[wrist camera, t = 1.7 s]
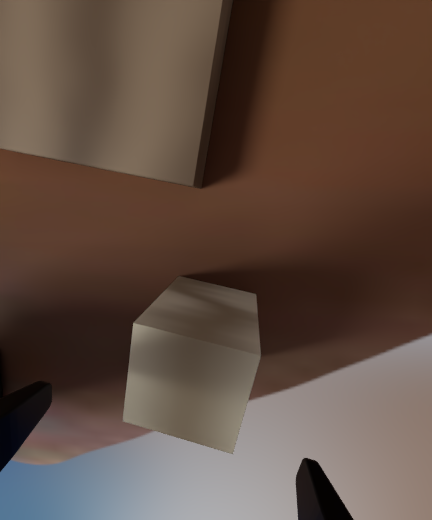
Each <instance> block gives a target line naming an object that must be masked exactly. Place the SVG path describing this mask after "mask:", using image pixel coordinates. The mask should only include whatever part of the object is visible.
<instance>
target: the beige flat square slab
mask: <svg viewBox="0 0 432 520" xmlns="http://www.w3.org/2000/svg"><path fill="white" fill-rule="evenodd" d="M232 4H233V0H0V149H5V150H9V151H14V152H19V153H24V154H29V155H34V156H39V157H44V158H49V159H54V160H59V161H64V162H69V163H74V164H79V165H84V166H89V167H94V168H99V169H104V170H109V171H114V172H119V173H124V174H129V175H134V176H139V177H144V178H149V179H154V180H160V181H165V182H170V183H175V184H180V185H185V186H190V187H195V188H200V189H201V187H202V181H203V176H204V170H205V164H206V158H207V152H208V146H209V140H210V134H211V128H212V122H213V116H214V110H215V105H216V99H217V93H218V87H219V81H220V75H221V69H222V63H223V57H224V51H225V45H226V39H227V33H228V28H229V22H230V16H231V10H232Z"/></svg>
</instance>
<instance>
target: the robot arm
mask: <svg viewBox="0 0 432 520" xmlns="http://www.w3.org/2000/svg"><path fill="white" fill-rule="evenodd" d="M51 402H52V385H51V384H50V383H47V382H44V381H38V382H35V383H33V384H31V385H29V386H26V387H24V388H22V389H20V390H18V391H15V392H13V393H11V394H9V395H6V396H4V397H2V391H1V376H0V472H1V470H2V469H3V468H4V467H5V466H6V464H7V463H8V462H9V461H10V460H11V458H12V457H13V456H14V455H15V453H16V452H17V451H18V449H19V448H20V447H21V445H22V444H23V443H24V441H25V440H26V439H27V437H28V436H29V435H30V433H31V432H32V430H33V429H34V428H35V426H36V425H37V424H38V422H39V421H40V420H41V418H42V417H43V416H44V414H45V413H46V411H47V410H48V409H49V407H50V405H51ZM296 492H297V508H298V520H353V518H352V516H351V515H350V513H349V512H348V510H347V508H346V507H345V505H344V503H343V502H342V500H341V499H340V497H339V495H338V494H337V492H336V491H335V489H334V487H333V486H332V484H331V483H330V481H329V479H328V478H327V476H326V475H325V473H324V471H323V470H322V468H321V467H320V465H319V463H318V462H317V461H315V460H311V459H308V458H304V459H303V460H302V463H301V465H300V467H299V470H298V472H297V475H296Z"/></svg>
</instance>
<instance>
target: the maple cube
mask: <svg viewBox="0 0 432 520" xmlns="http://www.w3.org/2000/svg"><path fill="white" fill-rule="evenodd" d="M260 358H261V349H260V336H259V323H258V310H257V298H256V294H253V293H249V292H245V291H241V290H236V289H232V288H228V287H224V286H219V285H215V284H211V283H207V282H202V281H198V280H194V279H190V278H185V277H181V276H178V277H177V278H176V279H175V280H174V281H173V283H172V284H171V285H170V286H169V287H168V288H167V289H166V290H165V291H164V292H163V293H162V294H161V295H160V296H159V297H158V298H157V299H156V300H155V301H154V302H153V303H152V304H151V305H150V306H149V307H148V308H147V309H146V310H145V311H144V312H143V313H142V314H141V315H140V316H139V318H138V319H137V320H136V321H135V322H134V323H133V331H132V340H131V349H130V358H129V368H128V377H127V386H126V395H125V404H124V413H123V421H124V422H127V423H131V424H134V425H137V426H141V427H144V428H147V429H151V430H154V431H158V432H161V433H164V434H167V435H171V436H174V437H177V438H181V439H184V440H187V441H191V442H195V443H197V444H201V445H205V446H207V447H211V448H214V449H218V450H221V451H224V452H227V453H231V454H233V451H234V447H235V444H236V441H237V437H238V434H239V430H240V427H241V423H242V420H243V416H244V413H245V410H246V406H247V403H248V399H249V396H250V392H251V389H252V385H253V382H254V378H255V375H256V371H257V368H258V364H259V361H260Z"/></svg>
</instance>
